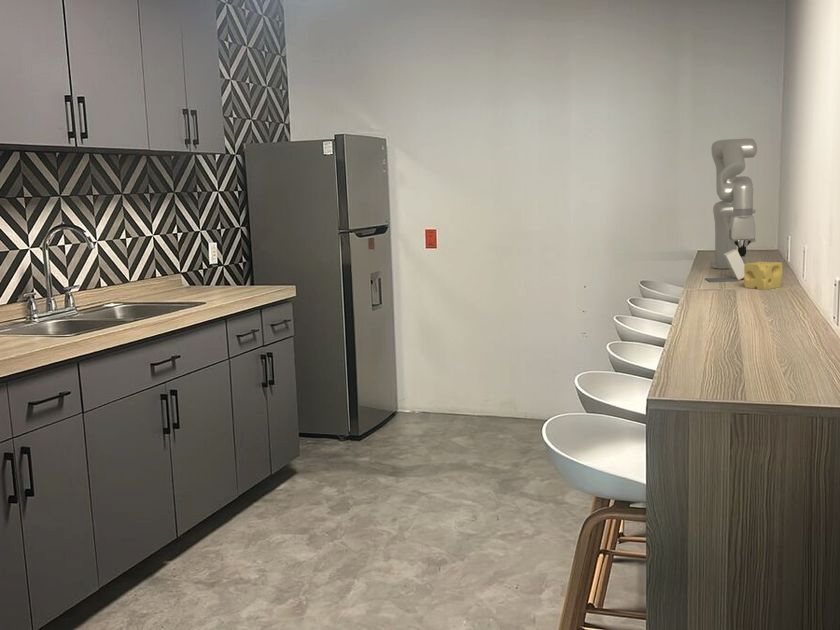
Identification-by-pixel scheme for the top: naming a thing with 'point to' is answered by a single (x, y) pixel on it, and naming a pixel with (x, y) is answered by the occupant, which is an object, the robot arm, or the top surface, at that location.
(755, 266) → the cheese
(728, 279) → the mat
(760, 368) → the top surface
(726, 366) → the top surface
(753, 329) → the top surface
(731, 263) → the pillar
